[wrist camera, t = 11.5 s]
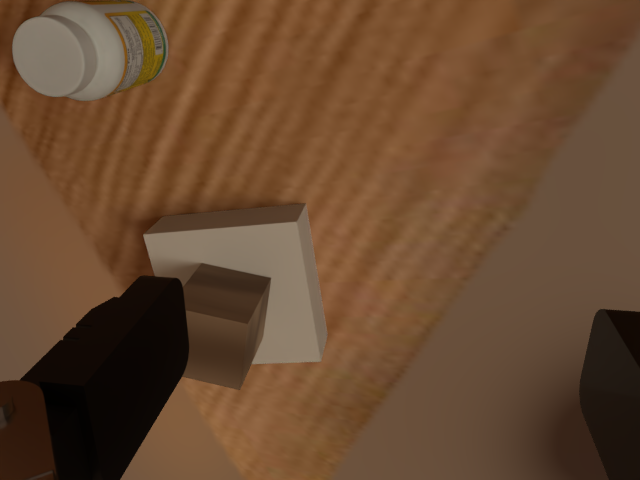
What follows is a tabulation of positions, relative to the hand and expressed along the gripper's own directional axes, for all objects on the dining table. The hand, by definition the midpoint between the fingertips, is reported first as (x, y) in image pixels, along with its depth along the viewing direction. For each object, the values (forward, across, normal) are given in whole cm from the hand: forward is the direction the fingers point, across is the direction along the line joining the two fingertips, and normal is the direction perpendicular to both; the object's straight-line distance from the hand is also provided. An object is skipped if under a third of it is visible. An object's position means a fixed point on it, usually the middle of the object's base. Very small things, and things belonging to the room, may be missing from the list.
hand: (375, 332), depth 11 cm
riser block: (+29, +11, +14) cm, 34 cm away
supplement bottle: (+28, +18, -3) cm, 34 cm away
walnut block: (+24, +11, +14) cm, 30 cm away
